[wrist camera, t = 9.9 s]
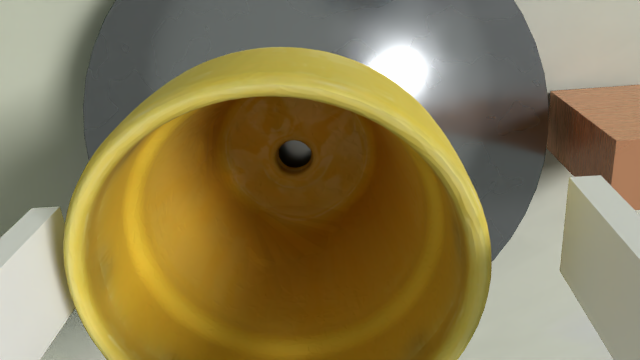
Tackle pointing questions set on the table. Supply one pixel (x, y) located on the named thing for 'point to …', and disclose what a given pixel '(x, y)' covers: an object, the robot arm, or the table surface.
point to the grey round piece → (401, 67)
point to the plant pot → (277, 220)
